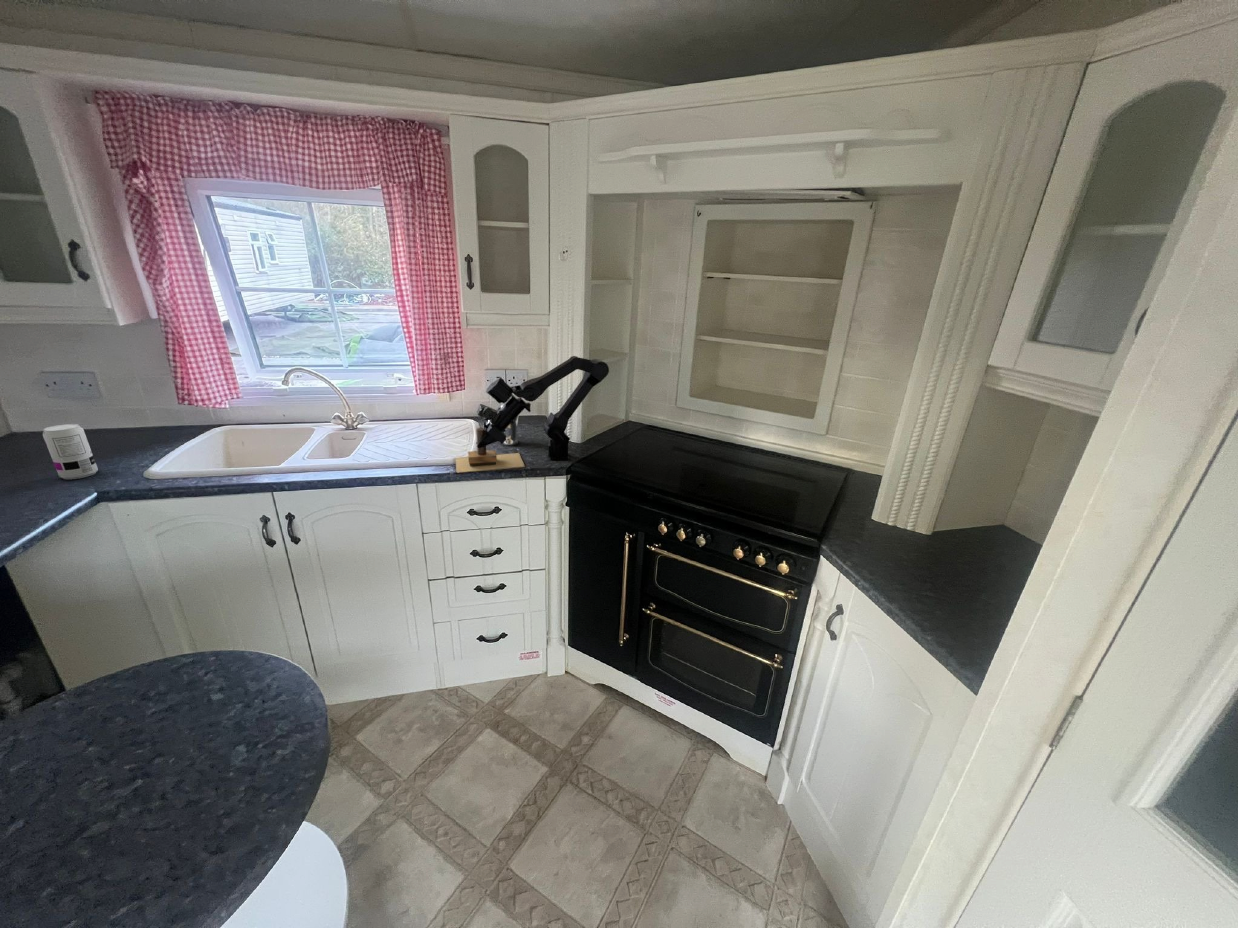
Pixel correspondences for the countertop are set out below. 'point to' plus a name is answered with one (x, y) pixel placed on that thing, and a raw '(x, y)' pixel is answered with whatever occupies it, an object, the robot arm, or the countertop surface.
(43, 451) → the countertop surface
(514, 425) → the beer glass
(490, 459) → the wooden rubber stamp
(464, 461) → the cork mat
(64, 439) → the supplement can
